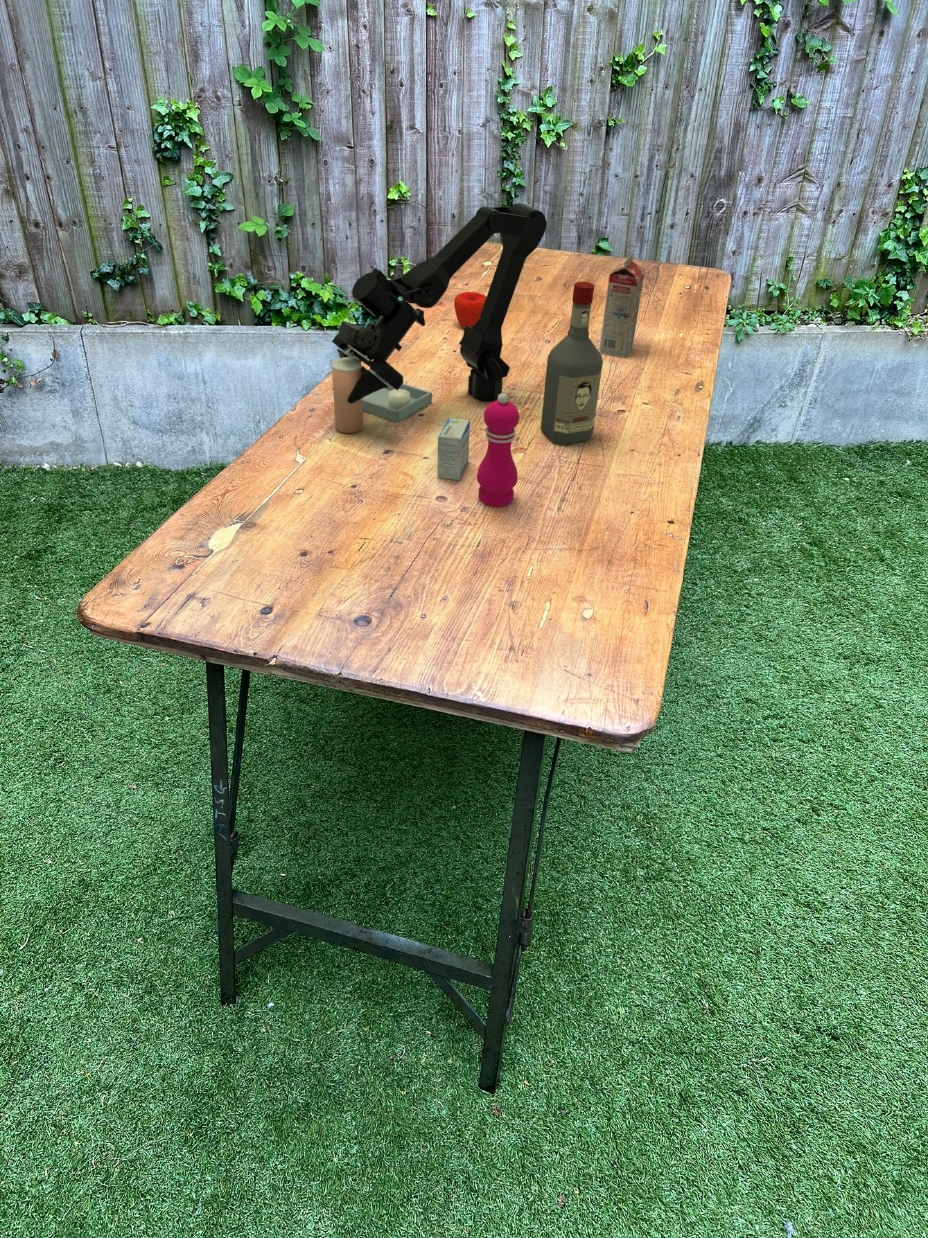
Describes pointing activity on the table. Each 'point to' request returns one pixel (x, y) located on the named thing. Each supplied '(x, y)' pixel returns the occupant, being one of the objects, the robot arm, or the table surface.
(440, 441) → the medicine box
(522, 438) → the table surface
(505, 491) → the pepper mill
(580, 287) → the liquor
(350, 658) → the table surface
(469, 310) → the apple
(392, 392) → the cream dome ball
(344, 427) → the coffee tin
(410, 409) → the grey shallow tray
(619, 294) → the juice carton
